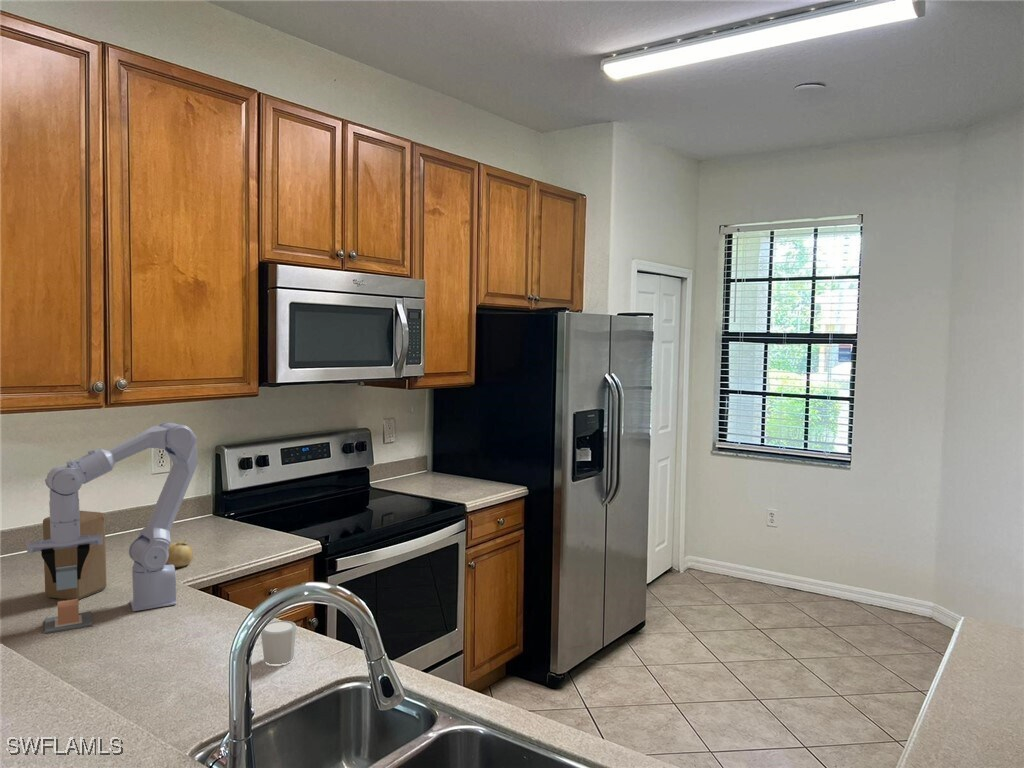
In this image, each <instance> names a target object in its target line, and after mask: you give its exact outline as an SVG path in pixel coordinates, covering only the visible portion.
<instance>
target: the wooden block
mask: <svg viewBox="0 0 1024 768" xmlns="http://www.w3.org/2000/svg"><path fill="white" fill-rule="evenodd" d="M79 514H80V536H83V535H101V534H102V536H103V545H90V551H89V553H88V555H87V557H86V559H85V562H84V565H83V568H82V572H81V579H78V580H77V587H78V588H71V589H64V590H57V586H56V583H53V579H52V576H51V573H50V570H49V568H48V566H47V564H46V562H45V561H44V560H43V565H44V567H43V570H44V595H45V596H46V597H47V598H50V599H51V598H53V599H60V600H65V601H67V600H73V599H78V601H79V600H82V599H84V598H86V597H89V596H92V595H94V594H96V593H98V592H101V591H103V590H105V589H106V588H107V585H108V584H107V582H108V581H107V554H106V553H107V552H106V551H107V550H106V548H107V547H106V516H105V514H104V513H103V512H100V511H90V510H89V511H87V510H79ZM42 534H43V535H42V536H43V537H42V540H48V539H51V535H50V516H47V517H45V518H44V519H43V520H42ZM74 565H77V547H72V548H63V549H55V568H59V567H66V566H74Z"/></svg>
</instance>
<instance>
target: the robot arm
mask: <svg viewBox="0 0 1024 768" xmlns="http://www.w3.org/2000/svg"><path fill="white" fill-rule="evenodd" d="M197 442H198V437H197V436H196V435H195V433H194V432H193V430H192V429H191V428H190V427H189V426H187V425H185V424H178V423H175V422H173V421H164V422H161V423H160V424H158V425H154V426H151V427H150V428H149V427H148V429H145V430H144V431H142V432H140V433H139V434H137V435H135V436H133V437H131V438H129V439H127V440H125V441H123V442H121V443H120V444H117V445H116V446H113V447H112V448H110V449H108V450H106V449H102V448H98V449H96V450H95V449H94V448H92V449H90V450H87V454H85V455H83V456H81V457H79V458H77V459H75V460H71V459H70V460H68V461H66V465H58V466H56V467H53V468H51V469H50V470H49V472H48V473H47V475H46V478H45V480H44V482H45V485H46V486H47V488H49V501H48V503H49V517H50V535H51V539H48V540H43V539H42V540H39V541H38V540H37V541H33V542H32V541H31V542H27V543H26V554H33V553H38V552H41V558H42V559H43V562H44V561H45V562H46V564H47V566H48V568H49V570H50V573H51V576H52V579H53V583H56V568H55V549H63V548H72V547H77V580H78V579H81V572H82V568H83V565H84V562H85V559H86V557H87V555H88V553H89V551H90V545H103V536H102V534H101V535H83V536H80V514H79V511H80V498H79V490H80V489H81V488H82V486H83V484H84V485H85V484H87V483H90V482H92V481H93V480H95V479H98V478H99V477H101V476H103V475H106V474H107V473H110V472H111V471H113V469H114V466H115V464H116V463H117V462H120V461H122V460H125V459H127V458H129V457H131V456H134V455H136V454H139V453H140V452H142V451H143V452H144V451H146V450H147V449H163V450H164V451H165V452H166V453H167V455H168V456H169V459H170V460H171V462H172V465H171V468H170V470H169V473H168V475H167V477H166V480H165V482H164V484H163V487H162V490H161V492H160V495H159V497H158V499H157V501H156V504H155V506H154V508H153V511H152V513H151V515H150V518H149V519H148V522H147V525H146V526H144V527H143V528H142V529H141V530H140V531H139V534H138V535H137V537H136V538H135V539H134V540H133V541H132V542H131V543H130V545H129V548H128V555H129V557H130V559H131V560H132V561H133V565H132V567H131V571H132V574H131V575H132V598H131V599H130V600H129V602H130V605H131V610H132V611H133V612H137V611H144V610H149V609H157V608H163V607H169V606H174V605H177V584H176V583H177V581H176V580H177V577H176V567H174V565H166V562H167V560H168V557H169V552H168V549H169V546H170V545H171V544H172V543H171V542H172V540H171V533H170V532H171V529H172V527H173V525H174V522H175V520H176V517H177V515H178V514H179V513H178V512H179V511H180V507H181V504H182V503H183V500H184V498H185V496H186V493H187V490H188V489H189V486H190V483H191V481H192V478H193V476H194V473H195V471H196V469H197V467H198V462H199V460H198V458H199V457H198V450H197Z"/></svg>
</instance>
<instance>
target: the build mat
mask: <svg viewBox="0 0 1024 768" xmlns="http://www.w3.org/2000/svg"><path fill="white" fill-rule="evenodd" d="M88 627H93V620H92V613H91V610H90V611H89V610H88V611H84V612H79V622H74V623H68V624H62V625H58V615H57V616H53V617H46V618H44V634H52V633H57V632H65V631H70V630H77V629H81V628H88Z"/></svg>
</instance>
